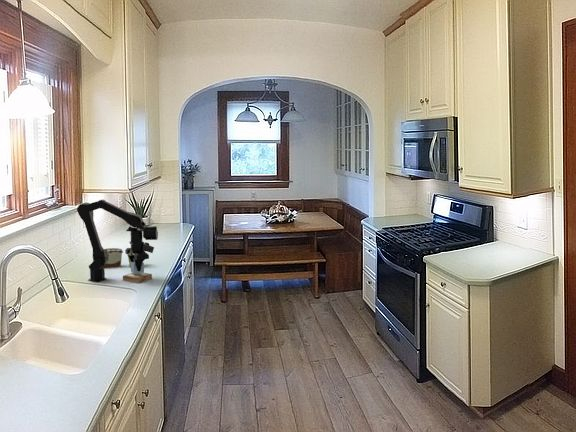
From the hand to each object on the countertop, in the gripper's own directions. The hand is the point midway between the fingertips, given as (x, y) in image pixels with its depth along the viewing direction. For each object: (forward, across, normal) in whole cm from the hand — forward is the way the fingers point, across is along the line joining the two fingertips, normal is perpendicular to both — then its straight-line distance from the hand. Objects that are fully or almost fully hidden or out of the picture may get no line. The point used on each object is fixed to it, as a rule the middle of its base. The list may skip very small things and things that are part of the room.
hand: (137, 270), depth 257 cm
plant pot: (+5, +29, -9) cm, 31 cm away
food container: (+5, +35, +3) cm, 36 cm away
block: (+1, 0, 0) cm, 1 cm away
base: (+5, 0, 0) cm, 5 cm away
